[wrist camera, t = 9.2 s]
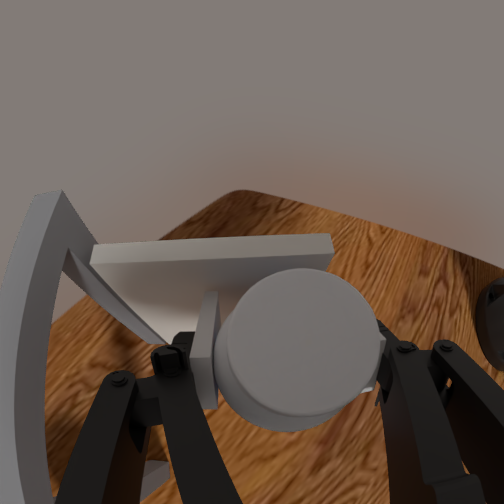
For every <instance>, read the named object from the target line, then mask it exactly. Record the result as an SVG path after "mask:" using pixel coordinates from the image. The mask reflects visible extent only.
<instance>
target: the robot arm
mask: <svg viewBox="0 0 504 504" xmlns="http://www.w3.org/2000/svg"><path fill="white" fill-rule="evenodd" d="M376 320H377V324H378V327H379V333H380V353H379V359H378V363H377V366H376V369H375V371H374V374H373V376H372V378H371V379H370V381H369V383H368V384H367V386H366V387H365V388H364V389H363V391H362V392H361V393H363V392H367V391H372V390H374V388H375V384H376V380H377V381H378V382H379V384H380V385H381V386H380V389H379V392H378V396H377V399H376V402H375V406H377V405H378V402H379V401H380V407H381V413H382V420H383V427H384V435H385V444H386V453H387V463H388V475H389V491H390V504H486V503H487V504H504V390H503V389H502V388H501V387H500V386H499V385H498V384H497V383H496V382H495V381H494V380H493V379H492V378H491V377H490V376H489V375H488V374H487V373H486V372H485V371H484V370H483V369H482V368H481V367H480V366H479V365H478V364H477V363H476V362H475V361H474V360H473V359H472V358H471V357H470V356H468V355H467V354H466V353H465V352H464V351H463V350H462V349H461V348H460V347H459V346H458V345H457V344H455V343H454V342H452V341H450V340H438V341H436V342H435V343H434V345H433V348H432V350H419V348H418V347H417V346H416V345H415V344H414V343H412V342H408V341H399V340H398V338H397V337H396V336H395V335H394V334H393V333H392V332H391V331H390V330H389V329H388V328H387V327H385V325H384V324H383V323H382V322H381V321H380V320H378V319H376ZM476 326H477V332H478V337H479V341H480V344H481V347H482V350H483V352H484V354H485V356H486V358H487V359H488V361H489V362H490V363H491V364H492V366H493V367H495V368H496V369H497V370H499V371H503V372H504V277H502V278H498V279H496V280H494V281H493V282H491V283H490V284H489V285H487V286H486V287H485V288H484V289H483V290H482V292H481V294H480V296H479V299H478V302H477V308H476ZM220 329H221V319H220V307H219V293H218V291H205V294H204V298H203V302H202V306H201V310H200V314H199V318H198V322H197V327H196V331H180V332H179V333H178V334H176V335H175V336H174V338H173V340H172V344H171V345H165V346H161V347H158V348H156V349H155V350H154V351H153V352H152V353H151V356H150V357H151V361H152V365H153V369H154V373H155V375H153V376H151V377H147V378H141V379H136V378H135V376H134V375H133V373H131V372H129V371H124V370H120V371H115V372H112V373H110V374H108V375H107V376H106V377H105V378H104V380H103V382H102V384H101V386H100V388H99V390H98V393H97V395H96V397H95V399H94V401H93V404H92V406H91V408H90V410H89V413H88V415H87V417H86V420H85V422H84V424H83V427H82V429H81V432H80V434H79V437H78V439H77V442H76V444H75V447H74V449H73V452H72V454H71V457H70V460H69V462H68V465H67V468H66V471H65V473H64V476H63V479H62V482H61V485H60V488H59V491H58V494H57V497H56V500H55V504H140V496H141V488H142V481H143V474H144V467H145V461H146V455H147V449H148V443H149V437H150V431H151V426H155V425H161V424H163V426H164V431H165V436H166V440H167V445H168V449H169V454H170V458H171V462H172V466H173V470H174V474H175V478H176V481H177V485H178V488H179V492H180V495H181V499H182V502H183V504H243V503H242V501H241V499H240V497H239V495H238V493H237V491H236V489H235V486H234V484H233V482H232V480H231V478H230V476H229V473H228V471H227V469H226V467H225V464H224V462H223V460H222V457H221V455H220V453H219V450H218V448H217V446H216V443H215V441H214V438H213V436H212V433H211V431H210V428H209V425H208V423H207V420H206V418H205V415H204V412H203V409H217V408H218V385H217V382H216V379H215V374H214V368H213V353H214V347H215V342H216V339H217V336H218V333H219V331H220ZM449 378H450V379H451V381H452V384H451V386H450V388H449V387H448V386H447V385H446V383H447V381H448V379H449ZM462 461H463V463H464V465H465V466H466V468H467V470H468V471H469V473H470V474H466V473H465V471H464V467H463V464H462Z"/></svg>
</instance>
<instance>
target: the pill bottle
mask: <svg viewBox="0 0 504 504" xmlns="http://www.w3.org/2000/svg"><path fill="white" fill-rule="evenodd" d="M379 353H380V333H379V327H378V324H377V320H376V317H375V315H374V313H373V310H372V308H371V307H370V305H369V304H368V302H367V301H366V300H365V298H364V297H363V296H362V295H361V293H360V292H359V291H358V290H357V289H356V288H354V287H353V286H352V285H351V284H349V283H348V282H347V281H345V280H343V279H341V278H340V277H338V276H336V275H334V274H331V273H328V272H324V271H321V270H316V269H307V268H297V269H290V270H285V271H281V272H277V273H275V274H272V275H270V276H268V277H266V278H264V279H262V280H260V281H259V282H257V283H256V284H255V285H253V286H252V287H251V288H250V289H249V290H248V291H247V292H246V293H245V294H244V295H243V296H242V298H241V299H240V301H239V302H238V304H237V305H236V307H235V309H234V310H233V311H232V312H231V314H230V315H229V316H228V317H227V319H226V320H225V322H224V323H223V325H222V327H221V329H220V331H219V333H218V336H217V339H216V342H215V347H214V353H213V368H214V374H215V379H216V382H217V385H218V387H219V390H220V392H221V394H222V395H223V397H224V399H225V400H226V402H227V403H228V404H229V405H230V407H231V408H232V409H233V410H234V411H235V412H236V413H237V414H239V415H240V416H241V417H242V418H244V419H245V420H247V421H248V422H250V423H252V424H254V425H256V426H259V427H262V428H265V429H268V430H272V431H280V432H295V431H301V430H306V429H309V428H312V427H315V426H318V425H320V424H322V423H324V422H325V421H327V420H329V419H330V418H332V417H333V416H334V415H336V414H337V413H338V412H339V411H340V410H341V409H342V408H343V407H344V406H345V405H347V404H348V403H349V402H351V401H352V400H354V399H355V398H356V397H357V396H358V395H359V394H360V393H361V392H362V391H363V389H364V388H365V387H366V386H367V384H368V383H369V381H370V379H371V378H372V376H373V374H374V371H375V369H376V366H377V363H378V359H379Z"/></svg>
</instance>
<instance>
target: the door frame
mask: <svg viewBox="0 0 504 504" xmlns="http://www.w3.org/2000/svg"><path fill="white" fill-rule="evenodd" d="M96 244H98V243H97V241H96V240H95V239H94V237H93V236H92V234H91V233H90V231H89V230H88V228H87V227H86V226H85V224H84V223H83V221H82V220H81V218H80V217H79V215H78V214H77V212H76V211H75V209H74V208H73V206H72V205H71V203H70V201H69V200H68V198H67V197H66V195H65V193H64V192H63V191H62V190H59V191H54V192H48V193H44V194H39V195H35V196H34V198H33V201H32V203H31V205H30V207H29V210H28V212H27V214H26V216H25V219H24V221H23V224H22V226H21V229H20V231H19V234H18V236H17V239H16V242H15V244H14V247H13V250H12V253H11V256H10V259H9V262H8V265H7V269H6V272H5V276H4V279H3V283H2V287H1V290H0V504H55V500H56V497H57V496H56V497H52V491H51V485H50V479H49V472H48V464H47V454H46V442H45V418H44V399H45V375H46V362H47V351H48V343H49V335H50V328H51V321H52V315H53V310H54V304H55V299H56V294H57V289H58V285H59V280H60V276H61V272H62V271H63V272H64V273H65V274H66V275H67V276H68V277H69V278H70V279H71V280H73V281H74V282H75V283H76V284H77V285H78V286H79V287H80V288H81V289H83V291H85V292H86V293H87V294H88V295H89V296H90V297H91V298H92V299H93V300H95V301H96V302H97V303H98V304H99V305H100V306H102V307H103V308H104V309H105V310H106V311H107V312H109V313H110V314H111V315H112V316H114V317H115V318H116V319H117V320H118V321H120V322H121V323H122V324H123V325H125V326H126V327H127V328H129V329H130V330H131V331H132V332H134V333H135V334H136V335H138V336H139V337H140V338H142V339H143V340H144V341H146V342H147V343H148V344H166V341H165V340H164V339H163V338H162V337H161V336H160V335H159V334H157V333H156V332H155V331H154V330H153V329H152V328H151V327H150V326H149V325H148V324H147V323H146V322H145V321H144V320H143V319H141V318H140V317H139V316H138V315H137V314H136V313H135V312H134V311H133V310H132V309H131V308H130V307H129V306H128V305H127V304H126V303H125V302H124V301H123V300H122V299H121V298H120V297H119V296H118V295H117V293H116V292H115V291H114V290H113V289H112V288H111V287H110V286H109V285H108V284H107V283H106V282H105V281H104V280H103V278H102V277H101V276H100V275H99V274H98V273H97V272H96V271H95V270H94V268H93V267H92V266H91V265H90V260H91V255H92V251H93V247H94V245H96ZM169 478H170V472H169V462H166V461H157V460H149V461H147V462H145V467H144V474H143V481H142V488H141V496H140V502H141V501H142V500H144V499H145V498H146V497H147V496H149V495H150V494H151V493H152V492H154V491H155V490H156V489H157V488H158V487H160V486H161V485H162V484H163V483H165V482H166V481H167V480H168V479H169Z"/></svg>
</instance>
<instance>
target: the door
mask: <svg viewBox="0 0 504 504" xmlns="http://www.w3.org/2000/svg"><path fill="white" fill-rule="evenodd" d="M334 254H335V252H334V248H333V244H332V240H331V236H330V233H322V234H293V235H266V236H242V237H220V238H199V239H180V240H161V241H145V242H128V243H111V244H96V245H94V247H93V251H92V255H91V260H90V265H91V266H92V267H93V268H94V270H95V271H96V272H97V273H98V274H99V275H100V276H101V277H102V278H103V280H104V281H105V282H106V283H107V284H108V285H109V286H110V287H111V288H112V289H113V290H114V291H115V292H116V293H117V295H118V296H119V297H120V298H121V299H122V300H123V301H124V302H125V303H126V304H127V305H128V306H129V307H130V308H131V309H132V310H133V311H134V312H135V313H136V314H137V315H138V316H139V317H140V318H141V319H143V320H144V321H145V322H146V323H147V324H148V325H149V326H150V327H151V328H152V329H153V330H154V331H155V332H156V333H157V334H159V335H160V336H161V337H162V338H163V339H164V340H165V341H166V342H167V343H169V344H170V345H171V344H172V340H173V338H174V336H175V335H176V334H178V333H179V332H180V331H196V327H197V322H198V318H199V314H200V310H201V306H202V302H203V298H204V294H205V291H218V293H219V307H220V319H221V327H222V325H223V323H224V322H225V320H226V319H227V317H228V316H229V315H230V314H231V312H232V311H233V310H234V309H235V307H236V305H237V304H238V302H239V301H240V299H241V298H242V296H243V295H244V294H245V293H246V292H247V291H248V290H249V289H250V288H251V287H252V286H253V285H255V284H256V283H257V282H259V281H260V280H262V279H264V278H266V277H268V276H270V275H272V274H275V273H277V272H281V271H285V270H290V269H297V268H307V269H316V270H321V271H324V272H325V271H326V269H327V267H328V265H329V263H330V261H331V259H332V257H333V256H334Z"/></svg>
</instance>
